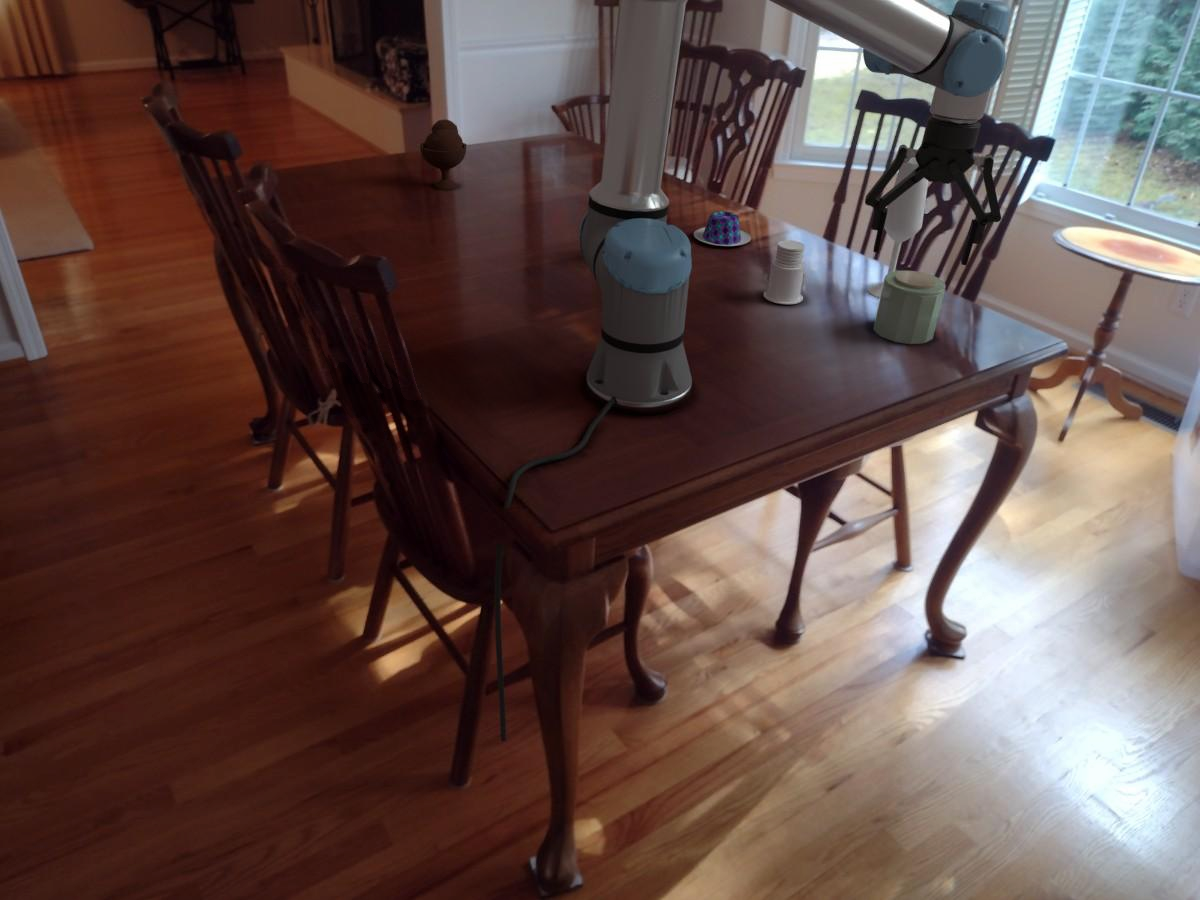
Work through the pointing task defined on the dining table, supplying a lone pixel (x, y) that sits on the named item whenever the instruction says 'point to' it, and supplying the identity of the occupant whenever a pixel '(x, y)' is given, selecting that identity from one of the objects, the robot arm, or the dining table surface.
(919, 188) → the champagne flute
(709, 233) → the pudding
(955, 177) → the robot arm
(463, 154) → the ice cream bowl
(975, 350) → the dining table surface
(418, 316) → the dining table surface
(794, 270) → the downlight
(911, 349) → the dining table surface
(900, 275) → the green canister
